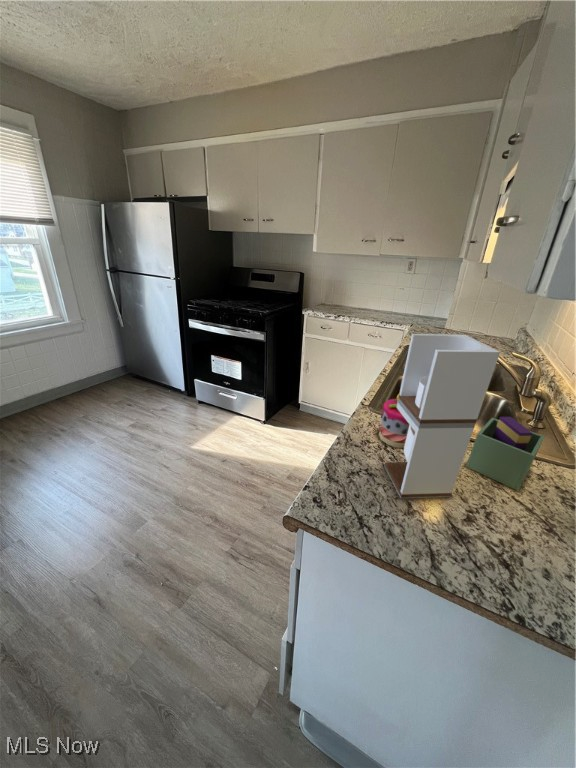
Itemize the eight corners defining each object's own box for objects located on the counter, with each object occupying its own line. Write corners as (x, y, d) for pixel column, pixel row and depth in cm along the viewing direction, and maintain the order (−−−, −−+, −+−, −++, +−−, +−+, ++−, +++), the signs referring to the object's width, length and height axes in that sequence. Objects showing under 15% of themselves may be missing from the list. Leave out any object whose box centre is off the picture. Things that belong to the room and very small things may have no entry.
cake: (371, 430, 94) (379, 386, 88) (403, 428, 96) (413, 384, 89) (387, 452, 85) (397, 404, 78) (422, 449, 87) (435, 401, 80)
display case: (427, 468, 80) (465, 334, 65) (449, 499, 70) (500, 352, 55) (383, 468, 79) (411, 333, 64) (400, 501, 69) (438, 351, 54)
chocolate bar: (494, 458, 83) (511, 416, 77) (513, 477, 76) (532, 433, 71) (483, 458, 82) (499, 416, 77) (501, 477, 76) (520, 433, 70)
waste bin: (528, 471, 80) (544, 436, 75) (517, 493, 72) (534, 456, 68) (479, 450, 87) (491, 417, 82) (465, 469, 80) (477, 433, 75)
